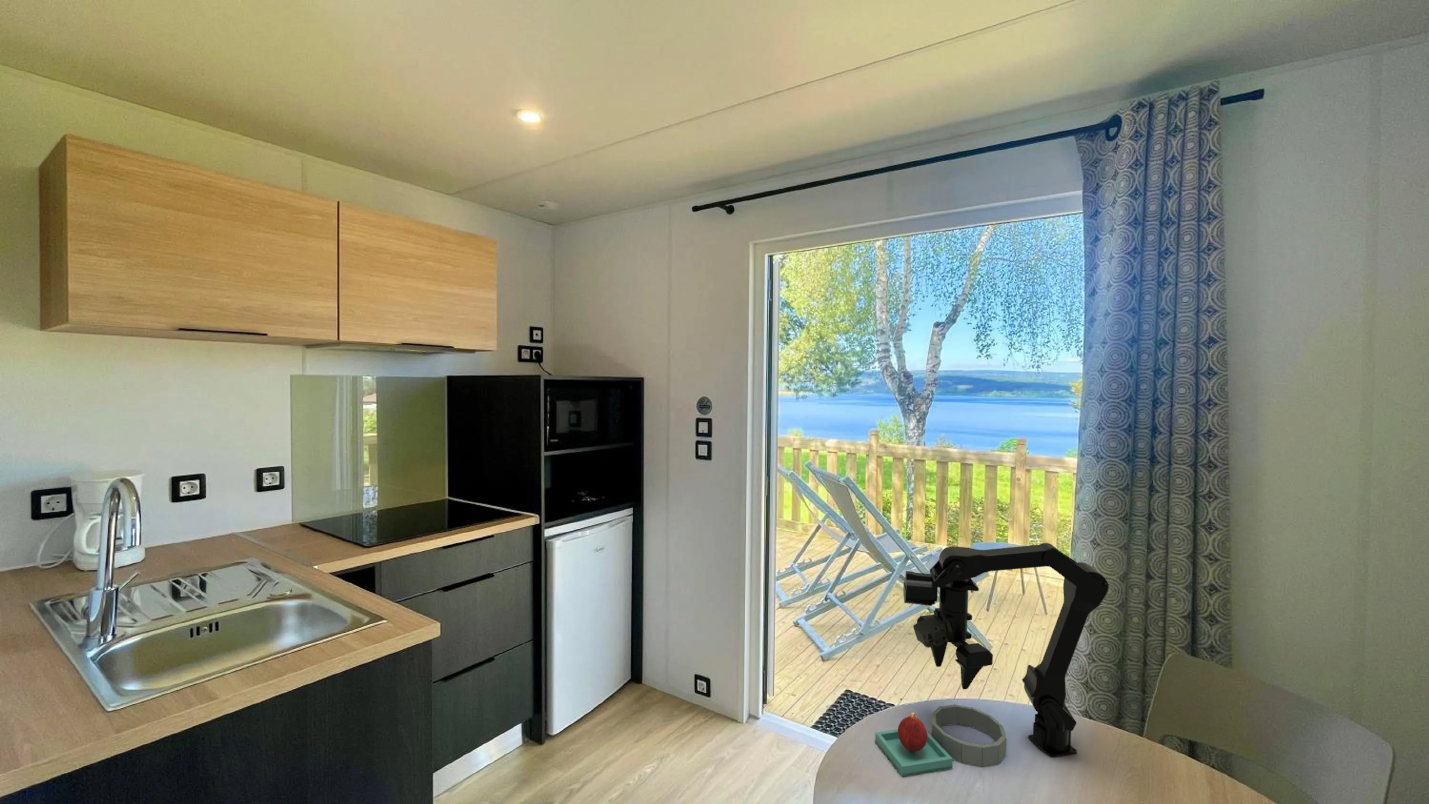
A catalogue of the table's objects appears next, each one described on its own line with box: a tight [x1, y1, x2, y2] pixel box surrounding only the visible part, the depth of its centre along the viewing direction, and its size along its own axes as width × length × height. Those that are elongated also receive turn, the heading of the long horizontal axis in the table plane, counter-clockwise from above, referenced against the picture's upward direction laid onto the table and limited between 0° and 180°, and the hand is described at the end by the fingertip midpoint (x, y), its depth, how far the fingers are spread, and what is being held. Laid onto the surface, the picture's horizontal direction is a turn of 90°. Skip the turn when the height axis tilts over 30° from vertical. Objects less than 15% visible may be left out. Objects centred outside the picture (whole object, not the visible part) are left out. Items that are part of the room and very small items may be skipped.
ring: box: [930, 704, 1008, 768], centre depth 119 cm, size 14×14×4 cm
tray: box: [874, 728, 954, 778], centre depth 116 cm, size 11×11×2 cm
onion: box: [897, 711, 928, 752], centre depth 116 cm, size 6×6×8 cm
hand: (951, 677), depth 123 cm, fingers open, 9 cm apart
